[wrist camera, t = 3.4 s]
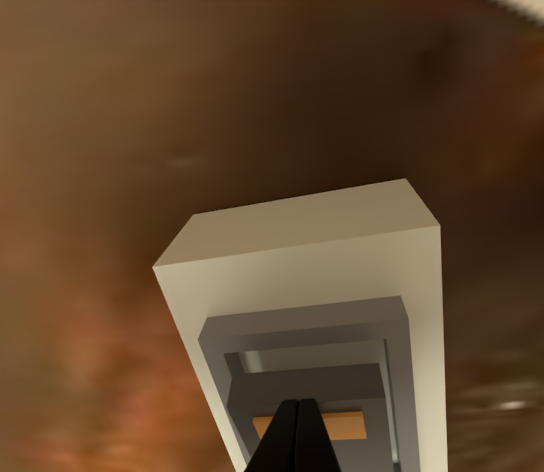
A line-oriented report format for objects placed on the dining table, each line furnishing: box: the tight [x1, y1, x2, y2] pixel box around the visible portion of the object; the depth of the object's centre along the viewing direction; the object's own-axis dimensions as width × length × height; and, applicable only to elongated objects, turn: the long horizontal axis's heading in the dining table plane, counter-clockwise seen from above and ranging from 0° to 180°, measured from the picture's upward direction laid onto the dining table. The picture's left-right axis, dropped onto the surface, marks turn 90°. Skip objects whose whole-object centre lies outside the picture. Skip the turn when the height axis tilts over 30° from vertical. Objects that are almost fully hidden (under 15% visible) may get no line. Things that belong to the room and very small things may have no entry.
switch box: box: [152, 178, 448, 472], centre depth 16 cm, size 24×8×5 cm, turn 12°
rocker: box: [226, 363, 394, 472], centre depth 11 cm, size 6×4×1 cm, turn 13°
